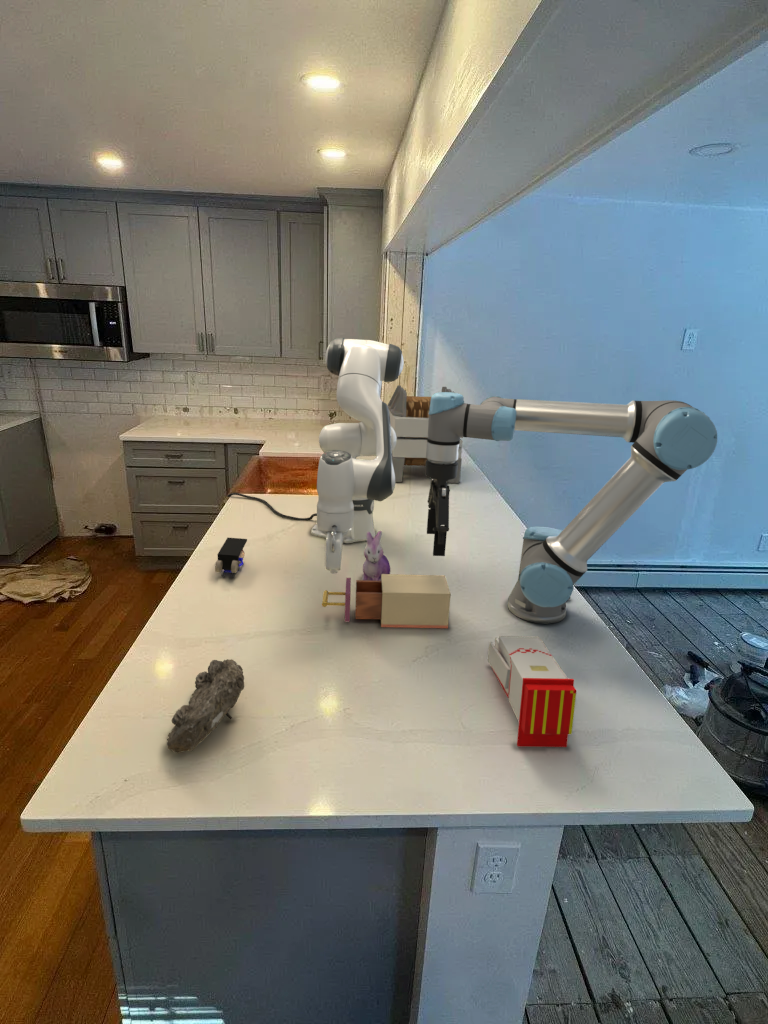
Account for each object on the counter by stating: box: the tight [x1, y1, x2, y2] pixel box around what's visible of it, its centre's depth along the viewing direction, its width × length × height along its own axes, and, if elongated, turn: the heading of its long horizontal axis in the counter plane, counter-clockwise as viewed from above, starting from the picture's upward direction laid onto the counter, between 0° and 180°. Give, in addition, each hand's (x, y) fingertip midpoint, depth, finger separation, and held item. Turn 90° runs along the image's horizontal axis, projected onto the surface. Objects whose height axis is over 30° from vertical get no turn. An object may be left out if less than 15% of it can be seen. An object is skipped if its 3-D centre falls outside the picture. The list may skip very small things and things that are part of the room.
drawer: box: [321, 577, 382, 623], centre depth 144 cm, size 21×9×8 cm, turn 92°
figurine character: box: [214, 537, 248, 578], centre depth 166 cm, size 7×8×15 cm
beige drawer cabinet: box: [380, 573, 452, 629], centre depth 145 cm, size 17×10×10 cm, turn 92°
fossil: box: [166, 658, 245, 754], centre depth 106 cm, size 22×10×15 cm
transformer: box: [387, 384, 464, 484], centre depth 268 cm, size 34×33×41 cm
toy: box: [486, 635, 577, 748], centre depth 115 cm, size 12×13×30 cm
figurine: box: [361, 530, 391, 581], centre depth 162 cm, size 9×10×15 cm
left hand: (334, 571), depth 141 cm, fingers closed
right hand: (435, 544), depth 139 cm, fingers open, 13 cm apart
